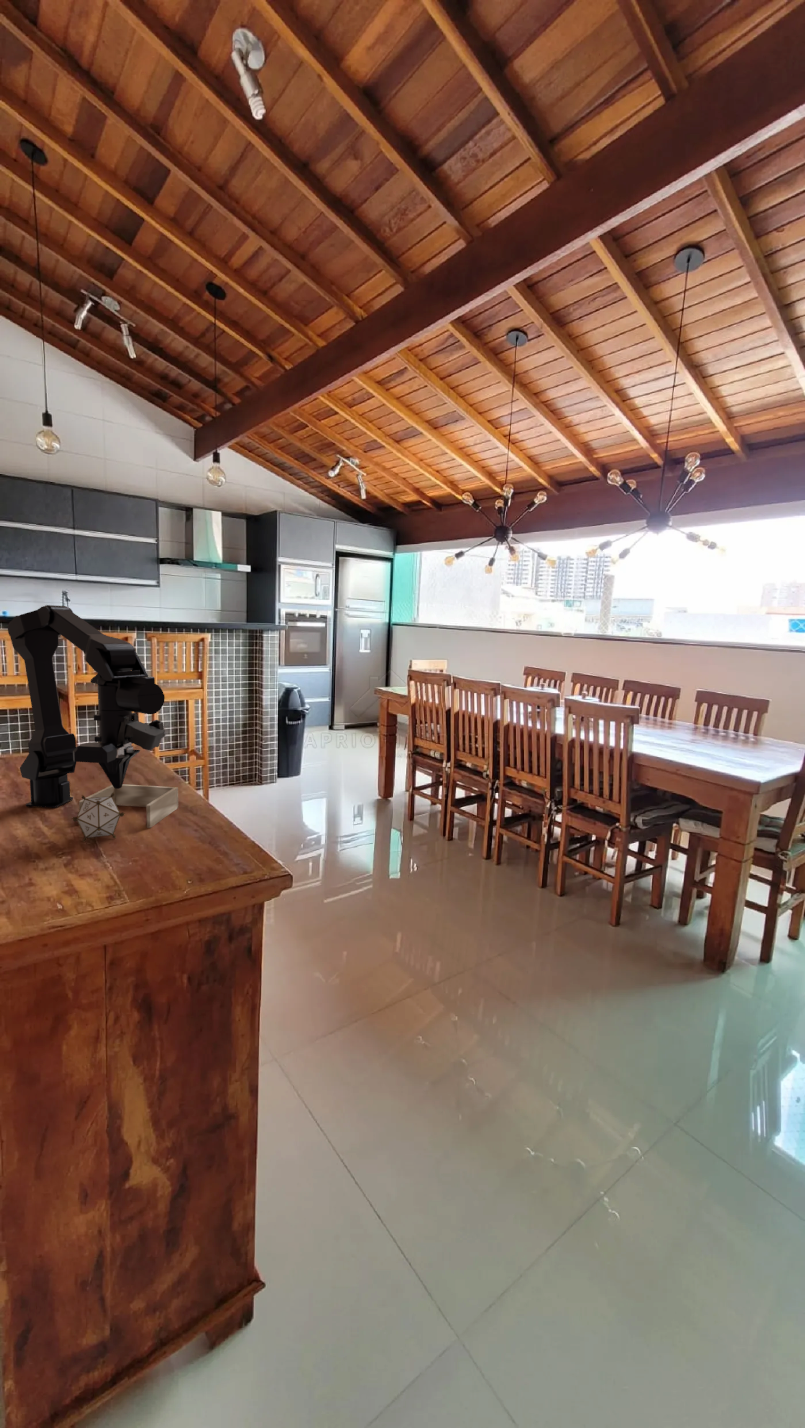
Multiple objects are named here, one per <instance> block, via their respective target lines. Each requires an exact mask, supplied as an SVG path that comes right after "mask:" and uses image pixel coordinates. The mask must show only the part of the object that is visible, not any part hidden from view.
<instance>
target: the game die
mask: <svg viewBox="0 0 805 1428" xmlns="http://www.w3.org/2000/svg"><path fill="white" fill-rule="evenodd" d="M113 796H114V793H112V794H111V796H109V797H97V798H87V797H86V796H85V795H83V794H81V798H82V799H81V800H83V799H84V801H83V803H82V805H81V808H80V810H79V809H78V813H77V815H76V816H73V817H72V818H71V820H72V821H73V822H77V825H78V826H79V828H80V830H81V832H82V834H83V836H84V838H83V839H82V843H85V842H86V841H87V839H90V838H91V839H92V838H100V837H108V836H112V838H113V839H117V836H116V834H114V833H115V831H116V829H117V826H118V823H119V821H120V818H121V817H124V816H125V814H126V813H125V812H121V811H120V809H119V807H118V805H116V804H115V802H114V800H113V798H112V797H113Z"/></svg>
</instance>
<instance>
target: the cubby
mask: <svg viewBox="0 0 805 1428" xmlns="http://www.w3.org/2000/svg"><path fill="white" fill-rule="evenodd" d="M112 793H114V796H113V797H112V798H113V800H114V802H115V804H116V805H117V806H127V807H144V808H146V809H145V810H146V812H145V813H146V828H148V829H151V828H152V827H154V826H155V825H156V824H158V823H159V822H161V821H162V820H163V819H165V818H166V817H168V816H169V815H170V814H172V813H173V812H174V811H176V810H177V809H179V787H178V786H177V787H175V786H174V787H173V786H157V785H140V784H139V785H138V784H124V783H123V785H122V787H121V788H119V789H115V788H114V787H113V785H112V784H110V785H108V786H107V787H105V788H103V789H101V790H99V791H96V792H95V793H93V794H90V795H89V796H86V798H97V797H109V796H111V794H112ZM83 801H84V799H81V800H79V801H78V811H79V810H80V808H81V805H82V803H83Z"/></svg>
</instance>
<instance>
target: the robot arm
mask: <svg viewBox="0 0 805 1428" xmlns="http://www.w3.org/2000/svg"><path fill="white" fill-rule="evenodd" d="M7 625H8V626H7V633H8V635H9V637H10V641H11V645H12V648H13V649H14V651H16V653H17V654H18V655H19V656H20V657H21V658H22V660H23V661H24V666H25V672H26V679H27V685H28V692H29V698H30V705H31V710H32V718H33V723H34V731H33V733H32V735H31V738H30V740H29V741H28V747H27V748H28V754H27V756H26V758H24V760H23V762H22V764H21V765H20V766H19V771H20V774H21V777H22V778H23V779H26V780H29V788H30V789H29V790H30V791H29V792H30V801H29V802H26V803H25V807H28V808H29V807H34V808H45V809H46V808H48V809H49V808H50V809H55V808H58V807H61V806H62V805H65V804H66V803H69V802H70V801H73V800H74V797H73V796H71V785H70V784H71V783H70V781H69V780H68V774H73V773H75V770H76V765H77V763H88V764H89V763H94V764H98V765H99V766H100V768H101V769H102V771H103V772H104V774H105V775H106V777H107V779H108V780H109V782H110V783H111V784H110V785H113V787H114V788H115V789H119V788H121V787H122V785H123V784H124V781H125V777H126V773H127V771H128V768H129V764H130V761H131V759H132V758H134V757H136V755H137V754H139V753H140V751H141V750H140V749H134V746H132V745H133V744H134V745H136V746H137V747H138V746H139V747H141V749H143V750H146V751H152V750H153V749H154V748H159V747H160V744H161V740H162V739H163V738H165V737H166V733H165V732H166V730H165V727H164V726H165V725H164V721H161V720H158V719H154V720H152V721H151V722H150V723H148V722H142V721H139V715H138V714H139V713H140V714H146V715H155V714H157V713H158V712H159V711H161V710H162V707H164V703H165V699H166V698H165V694H164V691H163V689H162V688H161V686H160V685H158V684H156V683H155V681H156V680H155V679H156V678H155V676H149V675H148V672H147V669H146V668H145V666H144V665H143V663H142V661H141V659H140V657H139V655H138V653H137V651H136V649H135V647H134V645H133V644H132V643H130V642H128V641H125V640H123V639H121V638H117V637H113V636H110V635H106V634H104V633H103V632H101V631H100V630H98V629H97V628H96V627H94V626H93V625H92V624H90V623H88V622H87V621H86V620H84V619H83V618H81V616H79V615H77V614H76V613H74V612H73V610H72V608H71V607H67V606H66V605H54V604H53V605H52V604H46V605H44V606H43V605H42V606H41V607H39V608H38V609H35V610H32V611H29V612H25V613H23V614H19V615H16V616H14V617H13V618H12V620H10V622H8V624H7ZM61 636H62V637H63V638H65V639H66V640H67V641H69V642H70V643H71V644H72V645H74V646H75V647H76V648H77V649H79V650H80V651H82V652H83V653H84V657H85V658H84V660H85V662H86V663H87V664H88V665H89V666H90V667H91V669H93V670H94V671H95V672H96V673H97V674H96V675H95V676H93V677H92V678H91V679H90V683H91V684H95V685H97V702H98V703H97V706H98V709H97V710H98V713H97V714H94V715H93V721H98V732H99V733H98V735H96V736H94V742H89V741H88V742H85V743H82V744H80V745H77V739H76V736H75V734H74V733H73V732H72V733H69V731H68V730H66V728H64V726H63V719H62V715H61V707H60V702H59V701H60V700H59V694H58V693H59V692H58V688H57V681H56V674H55V669H54V668H55V667H54V661H53V657H54V655H55V653H56V651H57V650H58V647H59V645H60V641H59V639H60V638H59V637H61ZM137 713H138V714H137Z"/></svg>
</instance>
